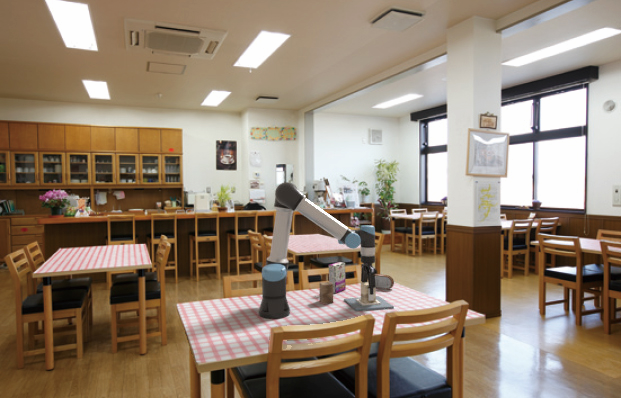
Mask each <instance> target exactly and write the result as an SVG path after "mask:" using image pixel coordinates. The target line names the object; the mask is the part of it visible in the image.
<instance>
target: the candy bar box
mask: <svg viewBox="0 0 621 398" xmlns="http://www.w3.org/2000/svg"><path fill="white" fill-rule="evenodd" d="M328 282H331V283H332V284H333V294H339V293H341V292H343V291H346V289H347V288H346V263H345V262H341V261H338V262H334V263H332V264H328Z"/></svg>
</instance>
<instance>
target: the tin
mask: <svg viewBox="0 0 621 398" xmlns="http://www.w3.org/2000/svg"><path fill="white" fill-rule="evenodd" d="M375 284H376V289H382V290H389V289H390V290H391V289H392V288H393V287H394V286H395V285H394V284H395V280H394V278H393V277H392V276H391V275H388V274H382V273H375Z"/></svg>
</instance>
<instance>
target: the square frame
mask: <svg viewBox="0 0 621 398" xmlns="http://www.w3.org/2000/svg"><path fill="white" fill-rule="evenodd" d="M356 301H357V302H358V303H360V304H361V305H362V306H365V305H378V304H381V303H380V302H379V301H378V300H376V303H362V302H361V299H356Z"/></svg>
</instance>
